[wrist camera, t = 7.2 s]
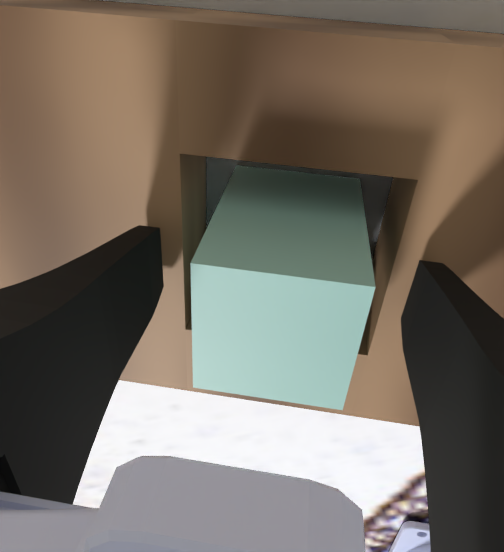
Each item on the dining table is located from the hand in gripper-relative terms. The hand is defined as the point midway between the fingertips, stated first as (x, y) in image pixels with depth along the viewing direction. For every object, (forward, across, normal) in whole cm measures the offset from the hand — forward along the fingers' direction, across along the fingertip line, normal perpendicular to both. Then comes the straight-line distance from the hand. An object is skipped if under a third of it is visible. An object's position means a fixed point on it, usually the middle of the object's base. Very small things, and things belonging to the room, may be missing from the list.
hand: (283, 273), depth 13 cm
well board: (+3, 0, 0) cm, 3 cm away
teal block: (+3, 0, 0) cm, 4 cm away
